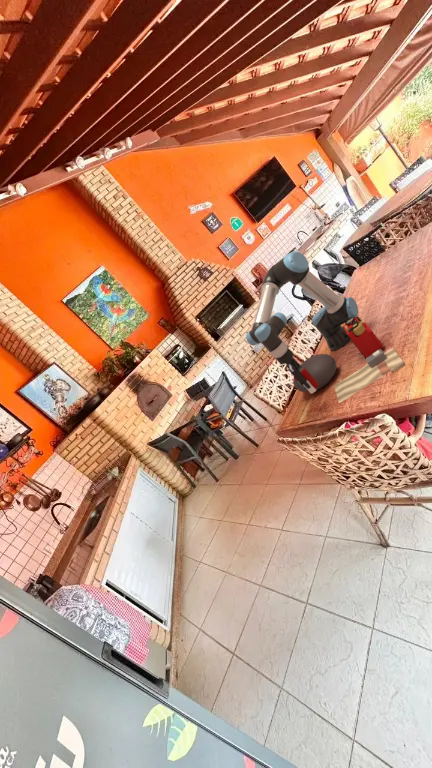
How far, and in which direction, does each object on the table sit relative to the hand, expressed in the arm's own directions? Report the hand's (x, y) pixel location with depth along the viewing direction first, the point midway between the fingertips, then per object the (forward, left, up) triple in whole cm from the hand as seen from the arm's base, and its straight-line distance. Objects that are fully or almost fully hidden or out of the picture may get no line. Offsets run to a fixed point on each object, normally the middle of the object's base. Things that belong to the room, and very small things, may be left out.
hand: (312, 388), depth 179 cm
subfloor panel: (-4, +22, -12) cm, 25 cm away
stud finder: (-9, +29, -11) cm, 32 cm away
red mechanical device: (-25, +30, -12) cm, 41 cm away
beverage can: (0, 0, -1) cm, 1 cm away
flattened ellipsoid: (-26, 0, -12) cm, 28 cm away
